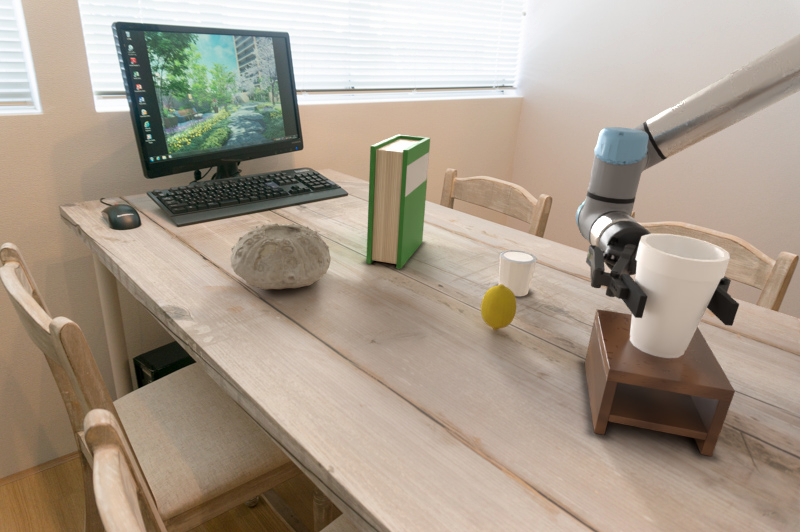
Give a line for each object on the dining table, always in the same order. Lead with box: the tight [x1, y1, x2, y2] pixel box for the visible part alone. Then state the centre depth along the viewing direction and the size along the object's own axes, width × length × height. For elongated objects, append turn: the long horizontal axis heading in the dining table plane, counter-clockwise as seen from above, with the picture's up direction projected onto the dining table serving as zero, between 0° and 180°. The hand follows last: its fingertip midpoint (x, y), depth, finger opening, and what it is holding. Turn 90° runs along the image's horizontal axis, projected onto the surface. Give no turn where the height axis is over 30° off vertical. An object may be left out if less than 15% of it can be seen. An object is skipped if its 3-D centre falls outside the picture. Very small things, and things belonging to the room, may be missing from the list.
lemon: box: [480, 284, 517, 331], centre depth 84 cm, size 6×6×8 cm
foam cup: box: [630, 233, 731, 358], centre depth 63 cm, size 10×9×13 cm
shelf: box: [584, 308, 736, 457], centre depth 68 cm, size 13×16×9 cm
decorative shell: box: [229, 223, 332, 291], centre depth 97 cm, size 18×18×10 cm
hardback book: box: [365, 134, 431, 270], centre depth 112 cm, size 18×7×24 cm, turn 163°
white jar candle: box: [497, 249, 538, 297], centre depth 100 cm, size 7×7×7 cm
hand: (686, 310), depth 59 cm, fingers closed on foam cup, 9 cm apart
